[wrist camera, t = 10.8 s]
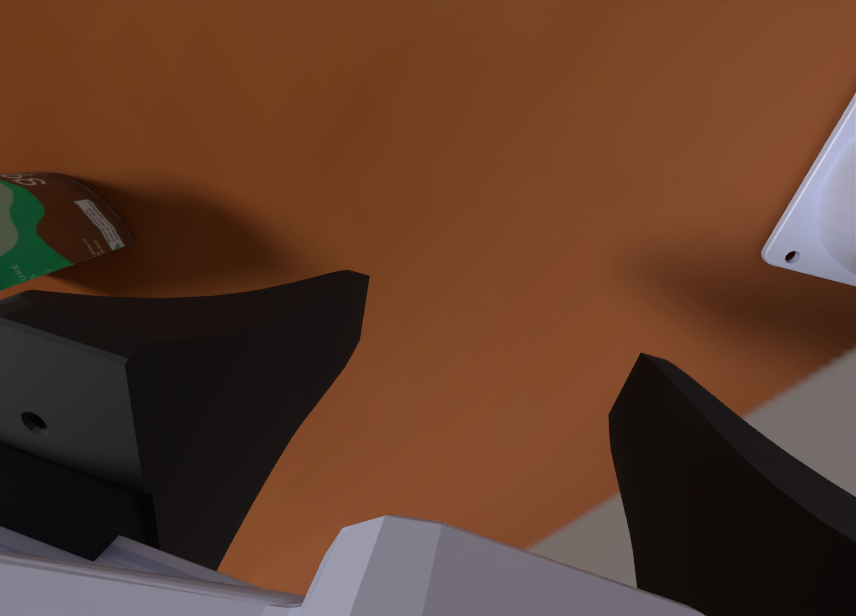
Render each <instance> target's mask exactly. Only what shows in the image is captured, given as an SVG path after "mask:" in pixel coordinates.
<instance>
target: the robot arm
mask: <svg viewBox="0 0 856 616" xmlns="http://www.w3.org/2000/svg"><path fill="white" fill-rule="evenodd" d="M792 251H795V256H794V257H793V258H792V259H790V260H785V256H786V255H787V254H788V253H789V252H792ZM761 256H762V258H763V260H764V261H766V262H767V263H769V264H771V265H774V266H778V267H782V268H786V269H790V270H793V271H797V272H801V273H805V274H809V275H813V276H817V277H821V278H825V279H829V280H833V281H837V282H841V283H845V284H849V285H853V286H856V93H855V95H854V97H853V98H852V100H851V102H850V103H849V105H848V107H847V108H846V110H845V112H844V113H843V115H842V117H841V118H840V120H839V122H838V123H837V125H836V127H835V128H834V130H833V132H832V133H831V135H830V137H829V138H828V140H827V142H826V143H825V145H824V147H823V148H822V150H821V152H820V153H819V155H818V157H817V159H816V160H815V162H814V164H813V165H812V167H811V169H810V170H809V172H808V174H807V175H806V177H805V179H804V180H803V182H802V184H801V185H800V187H799V189H798V190H797V192H796V194H795V195H794V197H793V199H792V200H791V202H790V204H789V205H788V207H787V209H786V210H785V212H784V214H783V215H782V217H781V219H780V220H779V222H778V224H777V225H776V227H775V229H774V230H773V232H772V234H771V235H770V237H769V239H768V240H767V242H766V244H765V245H764V247H763V249H762V252H761ZM369 277H370V276H368V275H365V274H361V273H358V272H354V271H350V270H342V271H337V272H333V273H328V274H324V275H321V276H317V277H313V278H309V279H305V280H301V281H297V282H293V283H289V284H284V285H279V286H274V287H270V288H265V289H260V290H255V291H249V292H242V293H234V294H225V295H216V296H200V297H180V298H129V297H107V296H93V295H81V294H70V293H59V292H48V291H39V290H28V291H24V292H21V293H18V294H15V295H13V296H10V297H7V298H4V299H2V300H0V616H856V497H855V496H853V495H851V494H850V493H848V492H847V491H845V490H843V489H841V488H840V487H839V486H837V485H835V484H834V483H832V482H830V481H829V480H827V479H826V478H824V477H823V476H821V475H820V474H818V473H817V472H815V471H814V470H812V469H811V468H809V467H808V466H806V465H805V464H803V463H802V462H800V461H799V460H797V459H796V458H794V457H793V456H791V455H790V454H789V453H787V452H785V451H784V450H783V449H781V448H780V447H779V446H777V445H776V444H775V443H773V442H772V441H770V440H769V439H768V438H767V437H765V436H764V435H763V434H761V433H760V432H758V431H757V430H756V429H755V428H753V427H752V426H751V425H749V424H748V423H747V422H746V421H744V420H743V419H742V418H740V417H739V416H738V415H737V414H735V413H734V412H733V411H732V410H730V409H729V408H728V407H727V406H725V405H724V404H723V403H722V402H721V401H719V400H718V399H717V398H716V397H714V396H713V395H712V394H711V393H710V392H708V391H707V390H706V389H705V388H703V387H702V386H701V385H700V384H699V383H697V382H696V381H695V380H694V379H692V378H691V377H690V376H689V375H687V374H686V373H685V372H683V371H682V370H681V369H679V368H678V367H677V366H675V365H674V364H672V363H670V362H669V361H667V360H665V359H661V358H658V357H654V356H651V355H647V354H644V353H640V355H639V357H638V359H637V361H636V363H635V365H634V367H633V369H632V370H631V372H630V374H629V376H628V378H627V380H626V382H625V384H624V386H623V388H622V390H621V392H620V394H619V395H618V397H617V399H616V401H615V403H614V405H613V407H612V409H611V411H610V413H609V435H610V447H611V453H612V458H613V462H614V467H615V471H616V476H617V480H618V485H619V489H620V493H621V498H622V502H623V506H624V511H625V515H626V518H627V523H628V528H629V532H630V538H631V543H632V549H633V556H634V564H635V573H636V581H637V588H634V587H632V586H629V585H626V584H623V583H620V582H617V581H614V580H611V579H608V578H605V577H602V576H599V575H596V574H593V573H590V572H588V571H584V570H582V569H579V568H576V567H573V566H570V565H567V564H564V563H561V562H558V561H555V560H552V559H549V558H546V557H543V556H540V555H537V554H535V553H532V552H529V551H526V550H523V549H520V548H517V547H514V546H511V545H508V544H505V543H502V542H499V541H496V540H493V539H490V538H487V537H485V536H482V535H479V534H476V533H473V532H470V531H467V530H464V529H461V528H458V527H455V526H452V525H449V524H446V523H443V522H439V521H433V520H426V519H419V518H413V517H406V516H400V515H393V514H391V515H386V516H382V517H379V518H375V519H372V520H369V521H365V522H362V523H358V524H355V525H351V526H348V527H345V528H342V530H341V531H340V533H339V534H338V536H337V537H336V539H335V540H334V542H333V544H332V545H331V547H330V548H329V550H328V551H327V553H326V554H325V556H324V558H323V560H322V562H321V565H320V567H319V569H318V571H317V573H316V575H315V577H314V580H313V582H312V584H311V586H310V588H309V590H308V593H307V595H301V594H294V593H287V592H281V591H274V590H267V589H262V588H259V587H257V586H254V585H251V584H249V583H246V582H243V581H241V580H238V579H235V578H233V577H230V576H227V575H225V574H222V573H219V572H217V569H218V567H219V565H220V563H221V561H222V559H223V557H224V555H225V554H226V552H227V550H228V548H229V546H230V544H231V542H232V541H233V539H234V537H235V535H236V533H237V531H238V530H239V528H240V526H241V524H242V522H243V520H244V519H245V517H246V515H247V513H248V511H249V509H250V508H251V506H252V504H253V502H254V501H255V499H256V497H257V495H258V494H259V492H260V490H261V488H262V487H263V485H264V483H265V481H266V480H267V478H268V476H269V475H270V473H271V471H272V469H273V468H274V466H275V464H276V463H277V461H278V459H279V458H280V456H281V455H282V453H283V451H284V450H285V448H286V446H287V445H288V443H289V441H290V440H291V438H292V437H293V435H294V434H295V432H296V431H297V429H298V428H299V427H300V425H301V424H302V422H303V421H304V420H305V419H306V417H307V416H308V415H309V413H310V412H311V411H312V410H313V408H314V407H315V406H316V404H317V403H318V402H319V400H320V399H321V398H322V397H323V395H324V394H325V393H326V391H327V390H328V389H329V388H330V386H331V385H332V384H333V382H334V381H335V380H336V378H337V377H338V376H339V374H340V373H341V372H342V370H343V369H344V368H345V366H346V364H347V363H348V361H349V359H350V357H351V356H352V354H353V352H354V350H355V348H356V346H357V344H358V343H359V341H360V336H361V329H362V323H363V316H364V309H365V303H366V296H367V290H368V283H369Z"/></svg>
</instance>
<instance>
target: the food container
mask: <svg viewBox="0 0 856 616" xmlns="http://www.w3.org/2000/svg"><path fill="white" fill-rule="evenodd" d="M133 243H135V241H134V240H133V238H132V236H131V235H130V233H129V231H128V229H127V228H126V226H125V224H124V223H123V222H122V221H121V220H120V218H119V217H118V216H117V215H116V214H115V213H114V211H113V210H112V209H111V208H110V207H109V206H108V204H107V203H106V202H105V201H104V200H103V199H101V198H100V197H99V196H97V195H96V194H95V193H94V192H92V191H91V190H90V189H88V188H87V187H86V186H84V185H83V184H82V183H80V182H78V181H75V180H73V179H70V178H68V177H66V176H63V175H61V174H59V173H51V172H25V173H9V174H0V292H1V290H3V289H6V288H9V287H12V286H15V285H17V284H20V283H23V282H26V281H29V280H32V279H34V278H37V277H40V276H43V275H46V274H48V273H51V272H54V271H57V270H60V269H63V268H65V267H68V266H71V265H74V264H77V263H79V262H82V261H85V260H88V259H91V258H94V257H96V256H99V255H102V254H105V253H108V252H110V251H113V250H116V249H119V248H122V247H124V246H127V245H130V244H133Z"/></svg>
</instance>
